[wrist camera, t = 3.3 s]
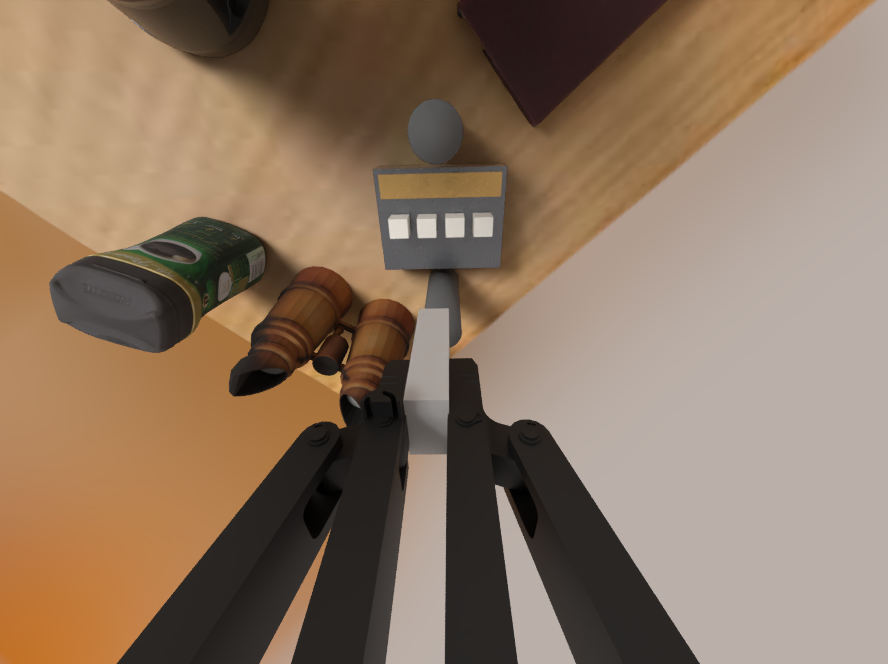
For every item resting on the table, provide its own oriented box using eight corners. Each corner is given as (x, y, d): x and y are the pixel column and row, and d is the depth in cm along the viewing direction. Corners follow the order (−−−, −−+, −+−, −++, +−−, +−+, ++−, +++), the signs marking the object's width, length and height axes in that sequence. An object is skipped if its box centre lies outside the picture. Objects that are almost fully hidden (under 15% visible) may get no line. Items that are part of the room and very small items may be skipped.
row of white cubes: (391, 214, 35) (387, 219, 33) (490, 212, 35) (493, 217, 33) (393, 232, 36) (390, 238, 34) (489, 230, 36) (492, 236, 34)
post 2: (428, 265, 43) (420, 315, 31) (457, 264, 43) (461, 315, 31) (429, 292, 45) (423, 349, 33) (458, 291, 45) (461, 348, 33)
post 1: (420, 112, 34) (405, 99, 22) (457, 111, 34) (463, 98, 22) (422, 155, 36) (410, 165, 24) (457, 154, 36) (462, 163, 24)
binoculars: (424, 314, 47) (410, 417, 30) (400, 354, 51) (376, 464, 34) (301, 255, 42) (203, 336, 25) (286, 303, 46) (191, 402, 29)
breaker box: (379, 166, 36) (372, 169, 33) (501, 162, 36) (507, 166, 33) (390, 258, 42) (385, 270, 39) (495, 256, 42) (500, 268, 38)
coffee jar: (192, 263, 43) (44, 338, 27) (191, 206, 39) (18, 255, 23) (266, 289, 45) (167, 373, 29) (272, 237, 41) (162, 301, 25)
